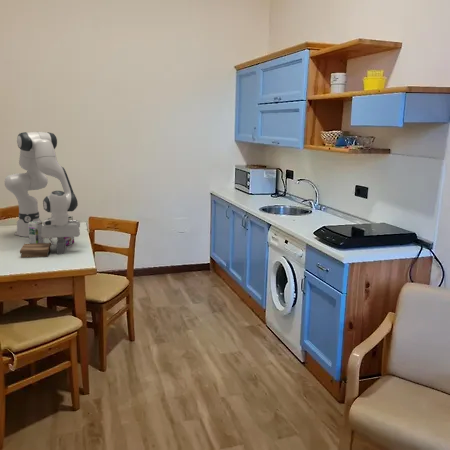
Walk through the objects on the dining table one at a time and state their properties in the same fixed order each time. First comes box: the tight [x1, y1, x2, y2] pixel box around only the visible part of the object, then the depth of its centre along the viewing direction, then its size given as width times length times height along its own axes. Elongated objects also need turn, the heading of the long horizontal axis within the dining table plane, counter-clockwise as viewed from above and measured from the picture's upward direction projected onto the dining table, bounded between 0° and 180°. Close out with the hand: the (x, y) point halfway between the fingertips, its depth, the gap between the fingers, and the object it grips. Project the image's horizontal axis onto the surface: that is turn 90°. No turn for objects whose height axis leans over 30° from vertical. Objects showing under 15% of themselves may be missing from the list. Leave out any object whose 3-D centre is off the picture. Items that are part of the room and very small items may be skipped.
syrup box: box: [28, 221, 45, 244], centre depth 273 cm, size 6×6×14 cm
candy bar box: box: [56, 215, 75, 247], centre depth 277 cm, size 11×5×16 cm, turn 168°
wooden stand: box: [19, 242, 52, 259], centre depth 260 cm, size 14×14×4 cm
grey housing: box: [55, 239, 67, 255], centre depth 264 cm, size 10×4×6 cm, turn 13°
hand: (61, 244), depth 264 cm, fingers open, 8 cm apart
